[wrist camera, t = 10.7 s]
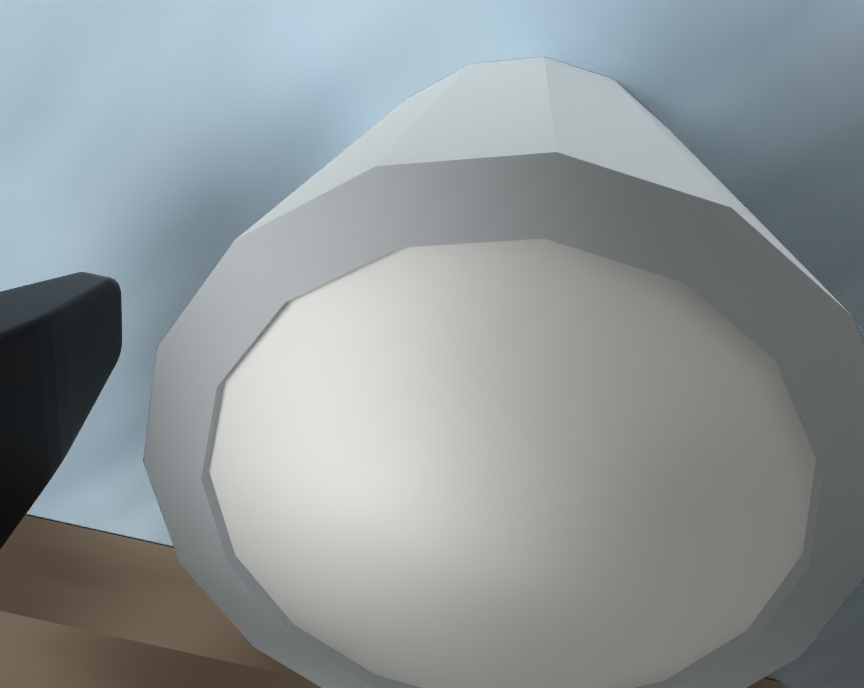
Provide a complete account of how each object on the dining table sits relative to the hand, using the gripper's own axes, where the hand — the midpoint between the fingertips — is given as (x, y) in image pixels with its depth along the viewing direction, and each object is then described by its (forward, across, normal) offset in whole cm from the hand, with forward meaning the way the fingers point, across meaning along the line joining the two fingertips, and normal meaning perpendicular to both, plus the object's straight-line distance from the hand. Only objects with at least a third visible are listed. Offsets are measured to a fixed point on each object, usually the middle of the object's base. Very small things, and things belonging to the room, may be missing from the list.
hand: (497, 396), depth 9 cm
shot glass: (+5, 0, 0) cm, 5 cm away
